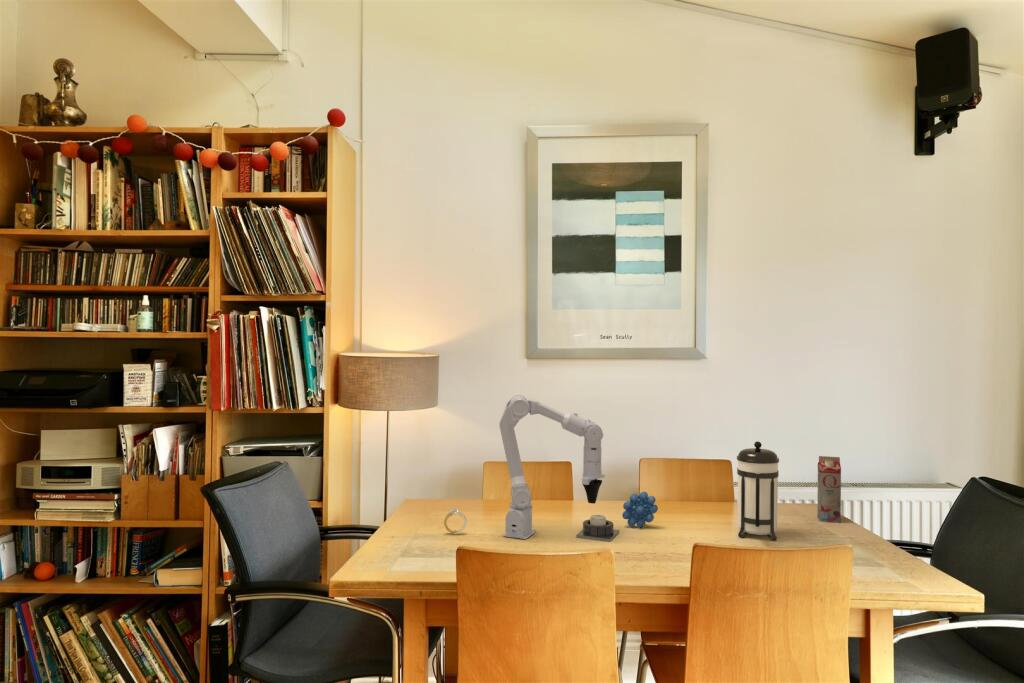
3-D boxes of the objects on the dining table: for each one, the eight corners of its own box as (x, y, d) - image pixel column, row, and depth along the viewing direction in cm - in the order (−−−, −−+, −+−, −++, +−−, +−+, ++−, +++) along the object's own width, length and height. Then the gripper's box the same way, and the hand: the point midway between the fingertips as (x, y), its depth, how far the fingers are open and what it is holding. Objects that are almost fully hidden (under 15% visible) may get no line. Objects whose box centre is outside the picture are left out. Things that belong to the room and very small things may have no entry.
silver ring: (443, 535, 216) (443, 510, 216) (445, 532, 219) (445, 507, 219) (465, 535, 215) (465, 510, 215) (466, 533, 219) (466, 508, 219)
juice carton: (840, 523, 232) (841, 458, 232) (819, 521, 234) (819, 457, 234) (838, 518, 238) (838, 455, 238) (817, 516, 241) (817, 454, 240)
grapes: (657, 524, 229) (657, 489, 229) (658, 530, 222) (658, 493, 222) (622, 523, 231) (622, 487, 231) (622, 528, 224) (622, 492, 224)
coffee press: (720, 531, 222) (720, 439, 222) (759, 526, 227) (760, 437, 227) (757, 546, 205) (757, 447, 205) (798, 541, 211) (799, 444, 211)
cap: (603, 535, 214) (603, 519, 214) (588, 533, 216) (588, 517, 216) (607, 531, 219) (607, 515, 219) (592, 529, 220) (592, 514, 220)
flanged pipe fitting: (610, 541, 210) (610, 529, 210) (576, 537, 214) (576, 525, 214) (619, 532, 220) (619, 520, 220) (586, 528, 224) (586, 517, 224)
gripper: (597, 465, 210) (597, 509, 211) (610, 458, 224) (610, 499, 224) (576, 463, 213) (575, 506, 213) (590, 456, 227) (589, 497, 227)
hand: (591, 502), depth 219 cm, fingers closed
